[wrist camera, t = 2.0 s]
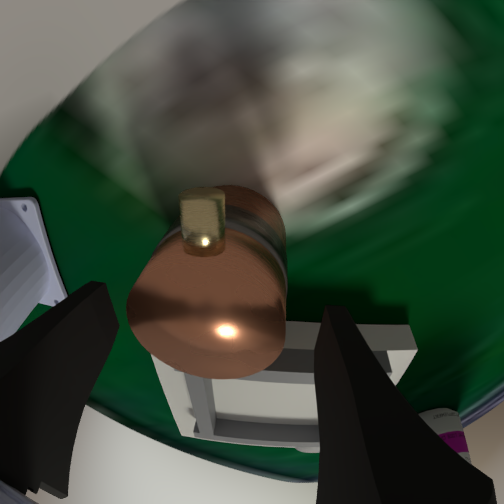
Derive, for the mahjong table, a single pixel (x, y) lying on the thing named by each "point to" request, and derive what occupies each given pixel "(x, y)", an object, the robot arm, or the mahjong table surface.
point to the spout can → (215, 286)
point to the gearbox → (273, 391)
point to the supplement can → (448, 429)
